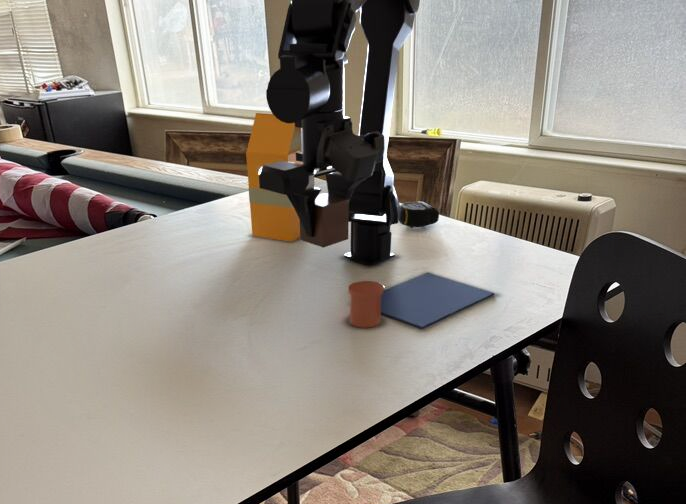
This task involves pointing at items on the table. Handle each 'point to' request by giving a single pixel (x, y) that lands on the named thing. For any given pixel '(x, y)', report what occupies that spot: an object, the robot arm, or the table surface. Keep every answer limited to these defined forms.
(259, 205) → the orange juice
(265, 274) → the table surface
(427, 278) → the cloth
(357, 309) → the terracotta pot
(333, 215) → the walnut block
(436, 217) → the tape measure
